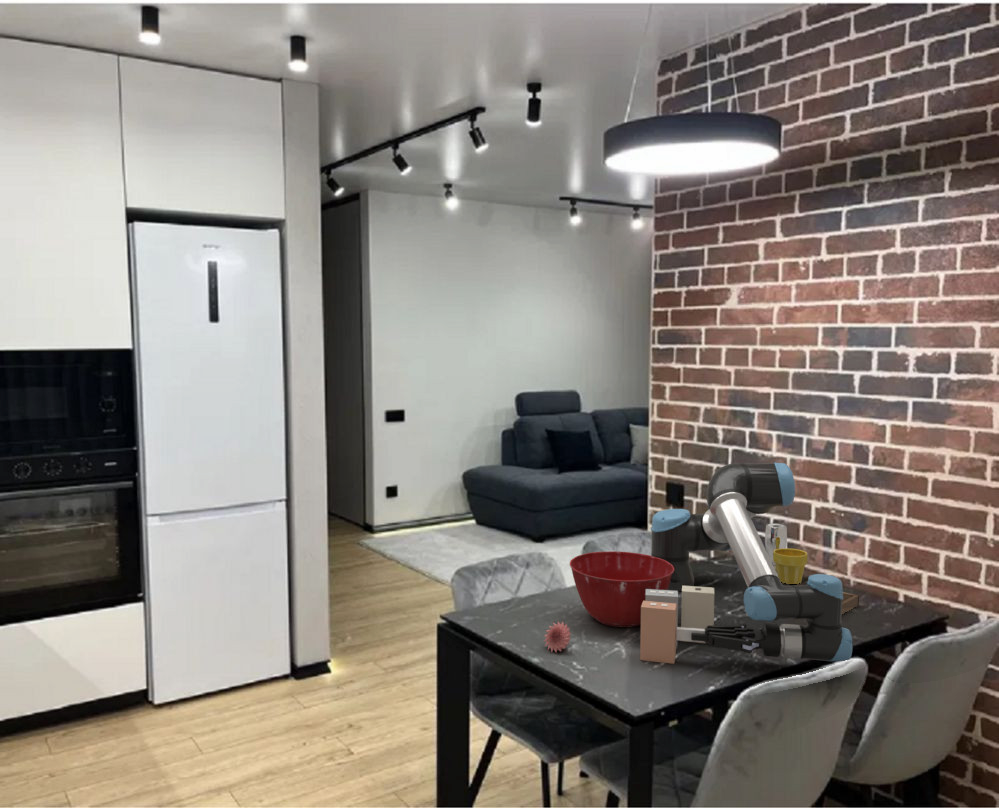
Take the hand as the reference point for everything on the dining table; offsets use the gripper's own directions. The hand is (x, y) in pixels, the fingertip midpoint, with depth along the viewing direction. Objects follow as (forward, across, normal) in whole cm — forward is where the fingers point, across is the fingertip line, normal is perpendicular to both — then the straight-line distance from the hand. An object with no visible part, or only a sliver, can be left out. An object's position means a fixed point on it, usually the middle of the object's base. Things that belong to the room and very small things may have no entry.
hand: (676, 633), depth 193 cm
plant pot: (-37, +72, -7) cm, 82 cm away
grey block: (+4, +11, -7) cm, 13 cm away
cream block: (-6, +15, -7) cm, 18 cm away
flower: (+28, +1, -7) cm, 29 cm away
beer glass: (-35, +86, -7) cm, 93 cm away
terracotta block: (+4, +1, -6) cm, 8 cm away
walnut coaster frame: (-42, +49, -6) cm, 64 cm away
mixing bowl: (+14, +27, -7) cm, 31 cm away
